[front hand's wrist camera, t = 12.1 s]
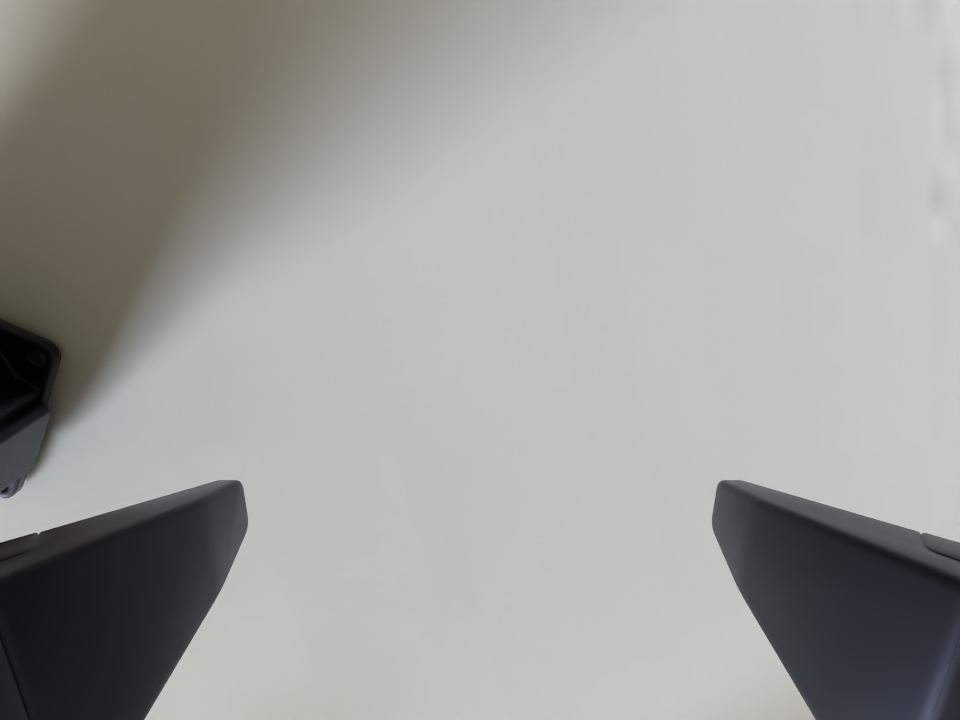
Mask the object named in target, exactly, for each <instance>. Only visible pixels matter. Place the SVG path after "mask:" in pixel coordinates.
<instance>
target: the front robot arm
mask: <svg viewBox="0 0 960 720" xmlns="http://www.w3.org/2000/svg"><path fill="white" fill-rule="evenodd" d="M38 351H40V352H42V353H43V354H44V356H45V360H43V359H42V358H41V357H40V356H39V355H38ZM60 360H61V354H60V351H59V349H58V348H57V346H56V345H55V344H54V343H52V342H50V341H49V340H46V339H44V338H42V337H40V336H37V335H35V334H33V333H30V332H28V331H26V330H24V329H21V328H19V327H17V326H14V325H12V324H10V323H7V322H5V321H3V320H1V319H0V497H1V498H9V497H11V496H13V495H14V494H15V493H17V492H18V491H19V490H21V488H22V487H23V484H24V481H25V477H26V474H27V472H28V471H29V470H30V469H32V468H33V467H34V466H35V464H36V461H37V457H38V454H39V451H40V447H41V444H42V441H43V437H44V434H45V431H46V428H47V424H48V421H49V418H50V414H51V410H50V406H49V404H48V400H49V397H50V393H51V390H52V387H53V383H54V380H55V377H56V373H57V370H58V367H59V363H60ZM247 526H248V516H247V509H246V503H245V497H244V490H243V486H242V484H241V482H239V481H237V480H220V481H215V482H212V483H208V484H205V485H201V486H198V487H194V488H191V489H188V490H184V491H181V492H177V493H174V494H170V495H167V496H163V497H160V498H156V499H153V500H150V501H146V502H143V503H139V504H136V505H132V506H129V507H125V508H122V509H119V510H115V511H112V512H108V513H105V514H101V515H98V516H94V517H91V518H88V519H84V520H81V521H77V522H74V523H70V524H67V525H63V526H60V527H56V528H53V529H50V530H46V531H43V532H41V533H40V534H39V535H38V534H37V533H33V534H30V535H26V536H23V537H19V538H16V539H12V540H9V541H5V542H1V543H0V720H144V719H145V717H146V716H147V714H148V712H149V711H150V709H151V707H152V706H153V704H154V702H155V701H156V699H157V697H158V695H159V694H160V692H161V690H162V689H163V687H164V685H165V684H166V682H167V680H168V679H169V677H170V675H171V674H172V672H173V670H174V669H175V667H176V665H177V663H178V662H179V660H180V658H181V657H182V655H183V653H184V652H185V650H186V648H187V647H188V645H189V643H190V642H191V640H192V638H193V637H194V635H195V633H196V632H197V630H198V628H199V626H200V625H201V623H202V621H203V620H204V618H205V616H206V615H207V613H208V611H209V610H210V608H211V606H212V605H213V603H214V601H215V599H216V598H217V596H218V594H219V592H220V590H221V588H222V586H223V584H224V582H225V580H226V578H227V575H228V573H229V571H230V569H231V566H232V564H233V562H234V559H235V557H236V555H237V552H238V550H239V548H240V545H241V543H242V541H243V539H244V536H245V534H246V531H247ZM712 526H713V531H714V534H715V536H716V539H717V541H718V543H719V545H720V548H721V550H722V552H723V555H724V557H725V559H726V562H727V564H728V566H729V569H730V571H731V573H732V575H733V578H734V580H735V582H736V584H737V586H738V588H739V590H740V592H741V594H742V596H743V598H744V599H745V601H746V603H747V605H748V606H749V608H750V610H751V611H752V613H753V615H754V616H755V618H756V620H757V621H758V623H759V625H760V626H761V628H762V630H763V631H764V633H765V635H766V637H767V638H768V640H769V642H770V643H771V645H772V647H773V648H774V650H775V652H776V653H777V655H778V657H779V658H780V660H781V662H782V663H783V665H784V667H785V669H786V670H787V672H788V674H789V675H790V677H791V679H792V680H793V682H794V684H795V685H796V687H797V689H798V690H799V692H800V694H801V695H802V697H803V699H804V701H805V702H806V704H807V706H808V707H809V709H810V711H811V712H812V714H813V716H814V717H815V719H816V720H960V543H959V542H955V541H951V540H948V539H944V538H941V537H937V536H934V535H930V534H927V533H923V534H922V535H921V534H920V533H919V532H917V531H914V530H910V529H907V528H904V527H900V526H897V525H893V524H890V523H886V522H883V521H879V520H876V519H873V518H869V517H866V516H862V515H859V514H855V513H852V512H848V511H845V510H841V509H838V508H835V507H831V506H828V505H824V504H821V503H817V502H814V501H810V500H807V499H804V498H800V497H797V496H793V495H790V494H786V493H783V492H779V491H776V490H772V489H769V488H766V487H762V486H759V485H755V484H752V483H748V482H745V481H740V480H723V481H721V482H719V484H718V486H717V490H716V497H715V503H714V509H713V516H712Z"/></svg>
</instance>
